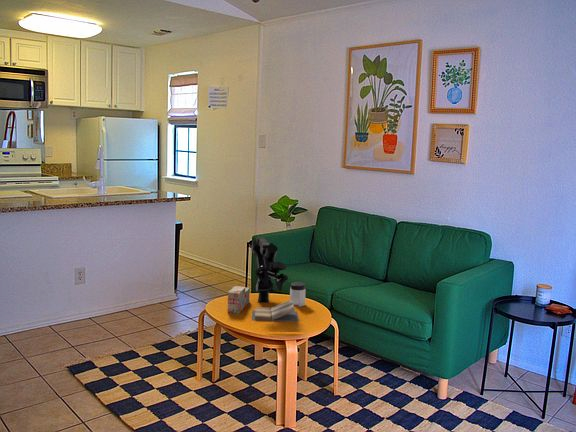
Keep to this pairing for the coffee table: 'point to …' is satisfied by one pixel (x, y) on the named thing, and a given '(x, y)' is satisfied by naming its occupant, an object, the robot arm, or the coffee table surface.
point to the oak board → (262, 313)
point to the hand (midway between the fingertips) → (273, 288)
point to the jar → (298, 293)
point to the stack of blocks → (237, 299)
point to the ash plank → (282, 309)
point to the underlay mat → (288, 317)
